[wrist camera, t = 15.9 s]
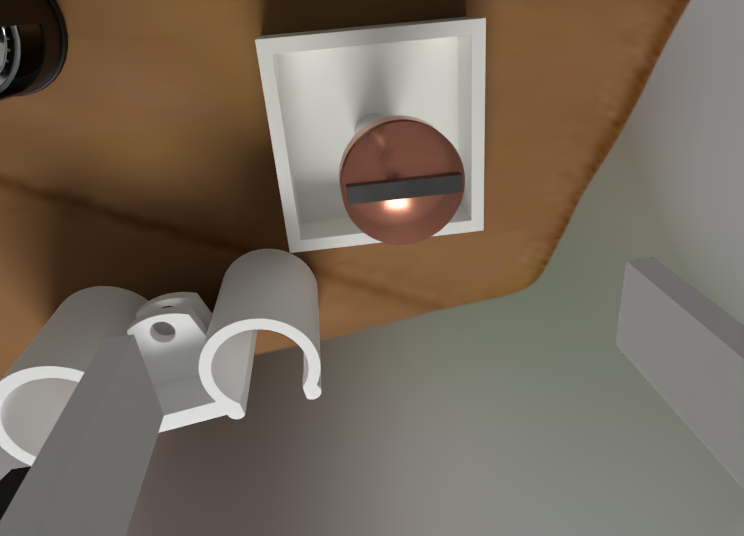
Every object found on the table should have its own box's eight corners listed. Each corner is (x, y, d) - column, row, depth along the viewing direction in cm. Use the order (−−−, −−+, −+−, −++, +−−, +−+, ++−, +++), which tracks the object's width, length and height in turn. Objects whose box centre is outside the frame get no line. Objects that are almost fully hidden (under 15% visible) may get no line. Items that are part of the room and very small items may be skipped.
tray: (260, 35, 41) (254, 39, 37) (467, 16, 42) (485, 18, 38) (291, 229, 48) (289, 253, 44) (467, 209, 49) (483, 230, 45)
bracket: (299, 230, 49) (297, 296, 38) (329, 319, 53) (334, 401, 42) (32, 302, 49) (-46, 387, 38) (83, 384, 53) (26, 482, 42)
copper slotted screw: (336, 179, 46) (348, 255, 31) (326, 93, 43) (334, 132, 28) (418, 170, 46) (468, 241, 31) (414, 84, 43) (467, 118, 28)
